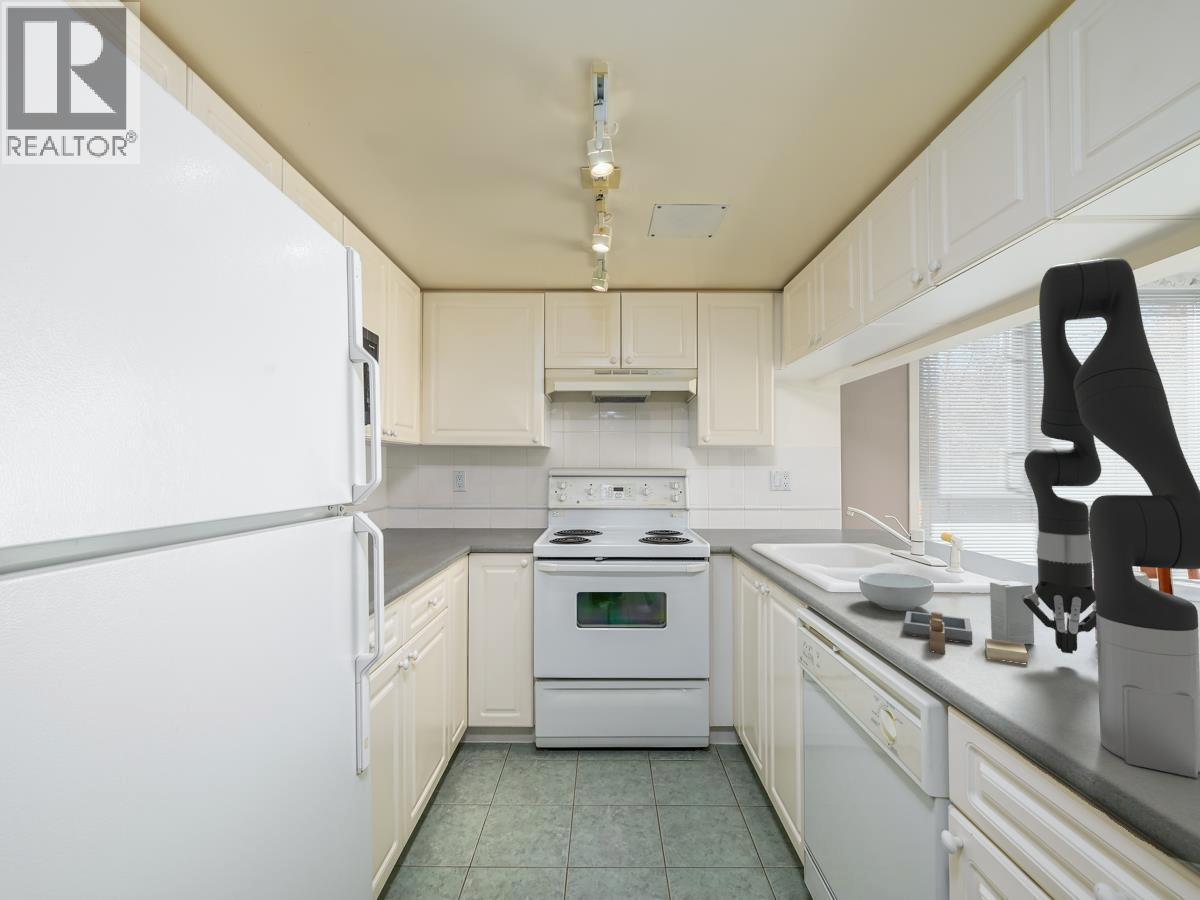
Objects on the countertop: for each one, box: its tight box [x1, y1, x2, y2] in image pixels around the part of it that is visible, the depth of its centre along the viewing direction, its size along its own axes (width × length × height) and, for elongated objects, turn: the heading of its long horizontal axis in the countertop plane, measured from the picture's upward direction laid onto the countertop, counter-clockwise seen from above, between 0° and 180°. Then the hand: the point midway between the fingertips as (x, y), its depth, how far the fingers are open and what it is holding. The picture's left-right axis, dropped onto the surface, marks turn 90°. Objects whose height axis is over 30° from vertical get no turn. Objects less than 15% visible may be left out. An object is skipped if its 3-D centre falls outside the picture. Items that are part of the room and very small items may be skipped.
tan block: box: [984, 637, 1029, 665], centre depth 102 cm, size 6×6×2 cm
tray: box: [904, 610, 973, 644], centre depth 117 cm, size 10×12×2 cm
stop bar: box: [929, 611, 946, 654], centre depth 108 cm, size 8×2×6 cm, turn 148°
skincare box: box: [989, 580, 1035, 645], centre depth 110 cm, size 6×4×12 cm
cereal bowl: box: [858, 572, 935, 612], centre depth 137 cm, size 17×17×7 cm
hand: (1066, 651), depth 98 cm, fingers closed
